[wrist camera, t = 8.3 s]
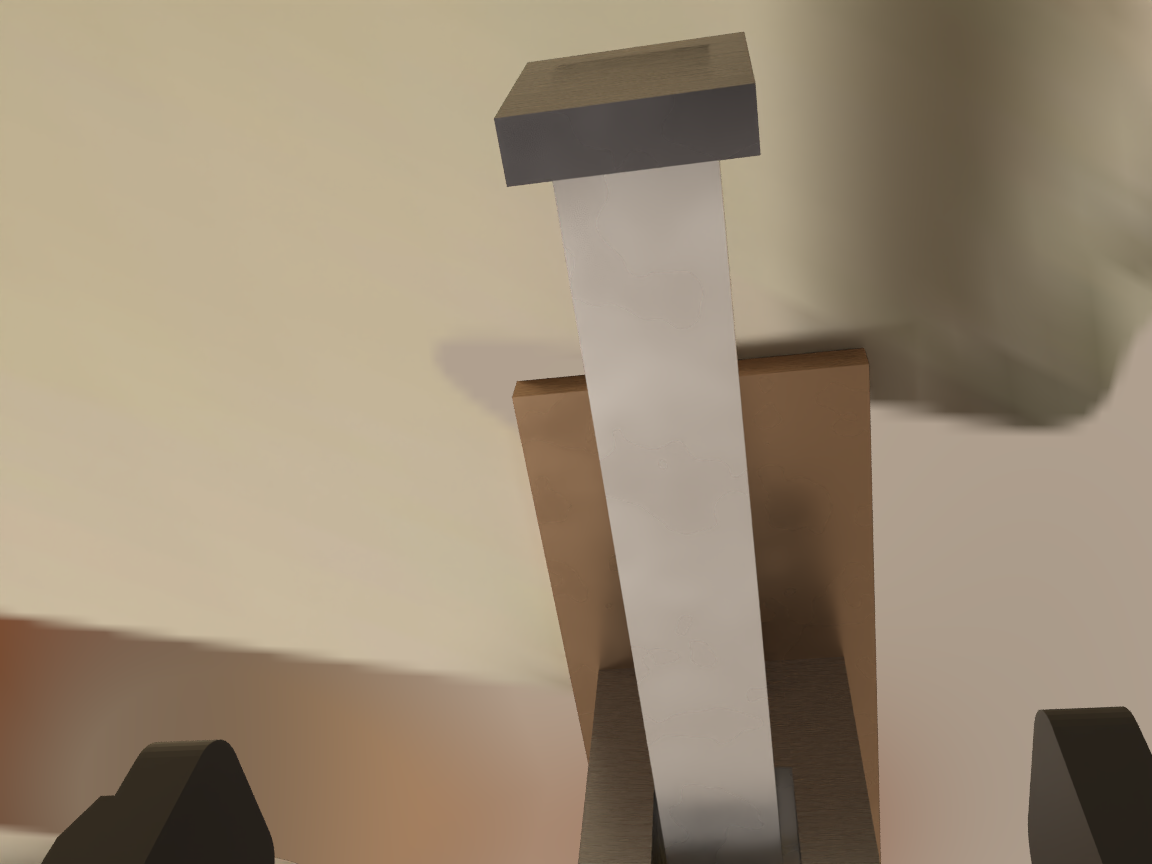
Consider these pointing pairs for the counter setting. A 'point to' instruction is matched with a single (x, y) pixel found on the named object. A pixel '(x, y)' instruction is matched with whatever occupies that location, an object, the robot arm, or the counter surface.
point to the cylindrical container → (283, 861)
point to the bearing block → (786, 594)
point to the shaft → (666, 403)
